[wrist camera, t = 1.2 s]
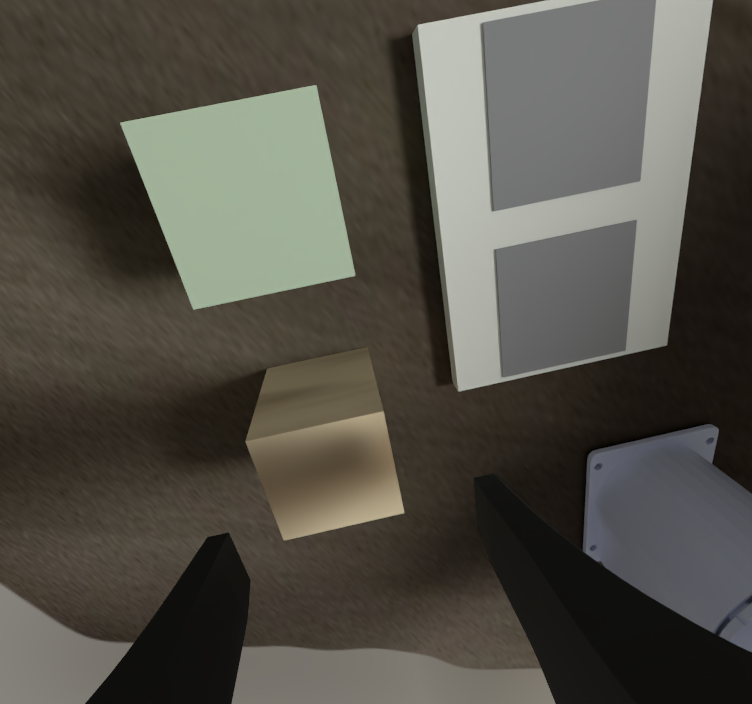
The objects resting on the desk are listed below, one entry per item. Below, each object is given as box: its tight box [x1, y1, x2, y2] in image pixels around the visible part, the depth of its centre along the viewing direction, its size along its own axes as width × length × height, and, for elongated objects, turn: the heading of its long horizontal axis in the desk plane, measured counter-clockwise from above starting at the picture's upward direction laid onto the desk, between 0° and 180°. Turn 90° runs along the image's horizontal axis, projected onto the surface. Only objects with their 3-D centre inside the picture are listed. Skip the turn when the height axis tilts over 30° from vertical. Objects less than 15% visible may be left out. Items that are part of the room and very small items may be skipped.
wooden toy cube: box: [245, 347, 404, 541], centre depth 18 cm, size 5×5×6 cm
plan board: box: [412, 0, 713, 392], centre depth 18 cm, size 15×11×1 cm
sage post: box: [120, 85, 355, 310], centre depth 14 cm, size 5×5×6 cm
